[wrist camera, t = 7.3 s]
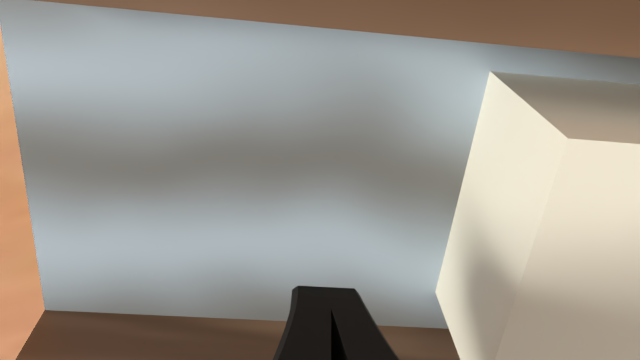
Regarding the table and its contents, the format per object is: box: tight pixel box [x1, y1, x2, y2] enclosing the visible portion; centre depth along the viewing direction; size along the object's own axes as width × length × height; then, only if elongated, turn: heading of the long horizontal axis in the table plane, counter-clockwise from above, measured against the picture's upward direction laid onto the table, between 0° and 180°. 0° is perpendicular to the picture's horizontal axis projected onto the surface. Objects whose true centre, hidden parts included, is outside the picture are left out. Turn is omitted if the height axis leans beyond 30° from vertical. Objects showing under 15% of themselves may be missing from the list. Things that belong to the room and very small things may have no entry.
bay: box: [0, 0, 640, 360], centre depth 17 cm, size 14×24×4 cm, turn 84°
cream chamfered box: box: [435, 71, 640, 360], centre depth 16 cm, size 8×8×5 cm
